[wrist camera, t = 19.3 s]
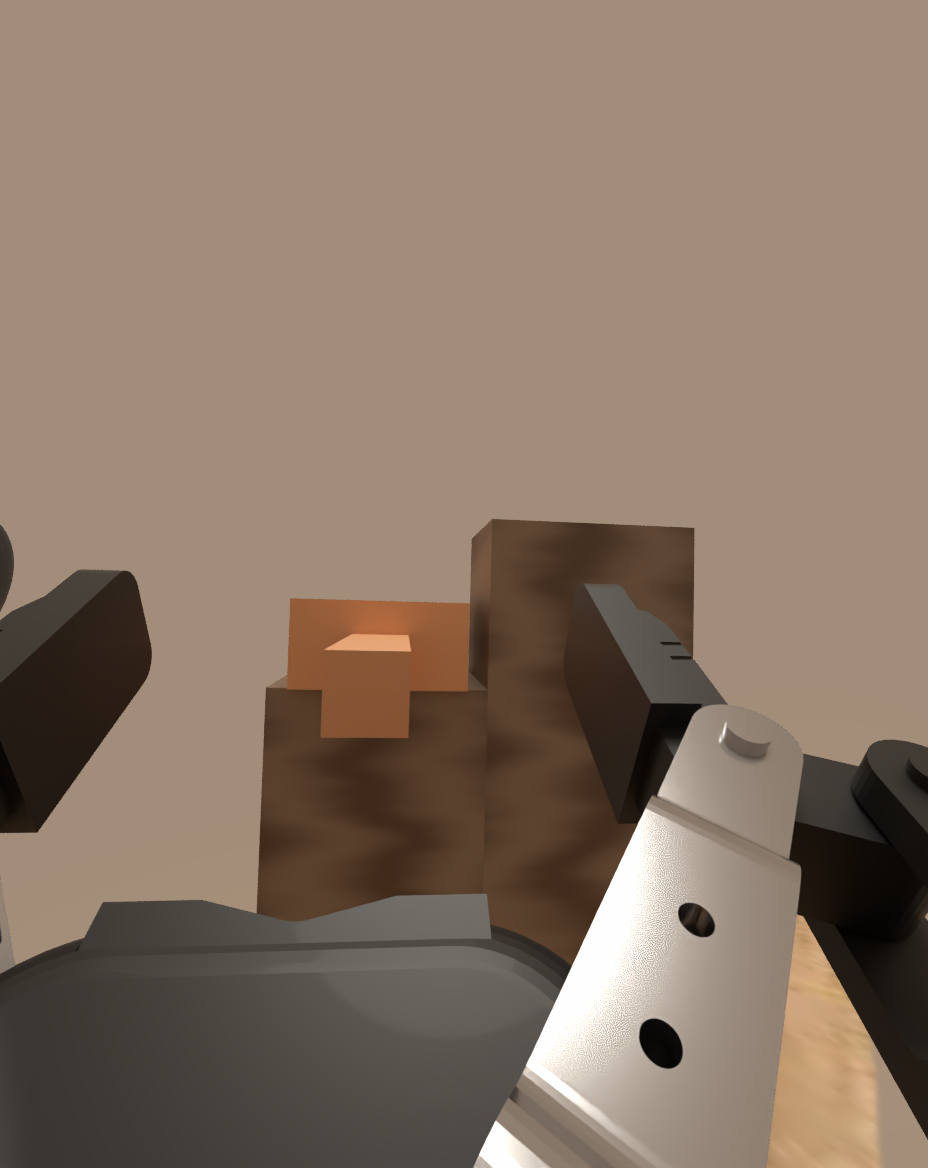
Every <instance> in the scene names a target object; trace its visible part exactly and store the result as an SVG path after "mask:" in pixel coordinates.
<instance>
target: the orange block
mask: <svg viewBox="0 0 928 1168" xmlns="http://www.w3.org/2000/svg"><path fill="white" fill-rule="evenodd" d="M469 617H470V604H466V603H429V602H428V603H427V602H396V601H361V600H324V599H290V622H289V647H288V672H287V689H288V690H322V710H321V737H320V738H408V735H409V703H410V691H465V692H468V655H469Z"/></svg>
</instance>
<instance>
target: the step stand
mask: <svg viewBox="0 0 928 1168" xmlns="http://www.w3.org/2000/svg"><path fill="white" fill-rule="evenodd" d="M471 556H472V557H471V591H470V592H471V593H470V627H469V665H468V692H465V691H410V703H409V735H408V738H320V737H321V710H322V690H288V689H287V675H286V676H285V677H283V678H281V679H280V680H278V681H276V682H275V683H273V684H272V685H270V686H268V687H266V701H265V724H264V749H263V773H262V798H261V822H260V823H261V824H260V845H259V846H260V847H259V870H258V894H257V914H260V915H264V916H268V917H272V918H276V919H280V920H285V921H290V922H300V921H305V920H310V919H313V918H317V917H321V916H324V915H328V914H332V913H335V912H339V911H343V910H346V909H350V908H354V907H357V906H361V905H365V904H368V903H372V902H376V901H379V900H383V899H387V898H390V897H394V896H408V895H453V894H487V901H488V910H489V919H490V925H494V926H498V927H501V928H505V929H508V930H510V931H513V932H515V933H518V934H521V935H523V936H526V937H528V938H530V939H531V940H533V941H535V942H537V943H539V944H541V945H543V946H545V947H546V948H548V949H549V950H551V951H552V952H554V953H555V954H557V955H558V956H560V957H561V958H563V959H564V960H565V961H567V962H568V963H569V964H570V965H571V966H573V964H574V962H575V960H576V957H577V955H578V953H579V951H580V949H581V947H582V944H583V942H584V940H585V938H586V936H587V934H588V931H589V929H590V927H591V925H592V923H593V921H594V918H595V916H596V914H597V912H598V910H599V908H600V905H601V903H602V901H603V899H604V897H605V895H606V893H607V890H608V888H609V886H610V884H611V882H612V880H613V877H614V875H615V873H616V871H617V869H618V867H619V864H620V862H621V860H622V858H623V856H624V854H625V851H626V849H627V847H628V845H629V843H630V841H631V838H632V836H633V834H634V832H635V830H636V828H637V826H638V824H618V823H617V820H616V817H615V815H614V812H613V809H612V807H611V804H610V801H609V799H608V796H607V793H606V791H605V788H604V785H603V783H602V780H601V777H600V775H599V772H598V769H597V766H596V764H595V761H594V758H593V756H592V753H591V750H590V748H589V745H588V742H587V740H586V737H585V734H584V732H583V729H582V726H581V724H580V721H579V718H578V716H577V713H576V710H575V708H574V705H573V702H572V699H571V697H570V694H569V691H568V689H567V686H566V683H565V677H564V652H565V646H566V641H567V635H568V629H569V624H570V618H571V613H572V607H573V601H574V596H575V592H576V589H577V587H578V585H579V584H581V583H582V584H616V585H621V586H622V588H623V589H624V590H625V592H626V593H627V595H628V596H629V598H630V599H631V601H632V602H633V603H634V605H635V606H636V608H637V609H638V610H643V611H648V612H650V613H651V614H653V615H654V616H655V617H657V618H658V619H660V620H661V621H663V622H664V623H666V624H667V625H668V626H669V627H670V628H671V630H672V631H673V632H674V634H675V635H676V636H677V638H678V639H679V640H680V642H681V645H682V646H684V647H685V648H686V650H687V651H688V652H689V654H690V655H691V659H692V660H693V610H694V606H693V605H694V603H693V602H694V528H682V527H659V526H636V525H614V524H592V523H591V524H590V523H568V522H546V521H545V522H544V521H523V520H522V521H520V520H500V519H492V520H491V521H490V522H489V523H488V524H487V525H486V526H485V527H484V528H483V529H482V530H481V531H480V532H479V533H478V534H476V536H474V537H473V538H472V554H471Z"/></svg>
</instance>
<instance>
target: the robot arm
mask: <svg viewBox="0 0 928 1168" xmlns="http://www.w3.org/2000/svg"><path fill="white" fill-rule="evenodd" d="M13 570H14V556H13V550H12V546H11V543H10V540H9V537H8V535H7V533H6V532H5V530H4V528H3V527H2V526H1V525H0V611H1V609H2V607H3V605H4V603H5V601H6V598H7V595H8V592H9V589H10V585H11V582H12V577H13ZM151 658H152V651H151V643H150V639H149V634H148V630H147V625H146V621H145V617H144V613H143V607H142V603H141V598H140V594H139V589H138V585H137V582H136V580H135V578H134V576H133V575H132V574H131V573H130V572H128V571H113V570H111V571H110V570H78V571H76V572H75V573H73V574H72V575H71V576H70V577H68V578H67V579H66V580H65V581H63V582H62V583H61V584H60V585H58V586H57V587H56V588H55V589H53V590H52V591H51V592H50V593H48V594H47V595H46V596H44V597H42V598H40V599H38V600H36V601H33V602H31V603H29V604H27V605H25V606H23V607H20V608H18V609H16V610H14V611H12V612H10V613H9V614H8V615H6V616H5V617H4V618H3V619H1V620H0V833H30V832H31V833H32V832H38V831H39V829H40V828H41V827H42V825H43V824H44V822H45V821H46V820H47V818H48V817H49V815H50V814H51V812H52V811H53V810H54V808H55V807H56V805H57V804H58V803H59V801H60V800H61V798H62V797H63V795H64V794H65V793H66V791H67V790H68V789H69V787H70V786H71V784H72V783H73V782H74V780H75V779H76V777H77V776H78V774H79V773H80V772H81V770H82V769H83V768H84V766H85V765H86V763H87V762H88V761H89V759H90V758H91V756H92V755H93V754H94V752H95V751H96V749H97V748H98V746H99V745H100V744H101V742H102V741H103V739H104V738H105V737H106V735H107V734H108V732H109V731H110V730H111V728H112V727H113V725H114V724H115V723H116V721H117V720H118V718H119V717H120V716H121V714H122V713H123V711H124V710H125V709H126V707H127V706H128V704H129V703H130V702H131V700H132V699H133V697H134V696H135V695H136V693H137V692H138V690H139V689H140V688H141V686H142V685H143V683H144V682H145V680H146V678H147V676H148V674H149V670H150V666H151ZM564 677H565V683H566V686H567V689H568V691H569V694H570V697H571V699H572V702H573V705H574V708H575V710H576V713H577V716H578V718H579V721H580V724H581V726H582V729H583V732H584V734H585V737H586V740H587V742H588V745H589V748H590V750H591V753H592V756H593V758H594V761H595V764H596V766H597V769H598V772H599V775H600V777H601V780H602V783H603V785H604V788H605V791H606V793H607V796H608V799H609V801H610V804H611V807H612V809H613V812H614V815H615V817H616V820H617V823H618V824H638V826H637V828H636V830H635V832H634V834H633V836H632V838H631V841H630V843H629V845H628V847H627V849H626V851H625V854H624V856H623V858H622V860H621V862H620V864H619V867H618V869H617V871H616V873H615V875H614V877H613V880H612V882H611V884H610V886H609V888H608V890H607V893H606V895H605V897H604V899H603V901H602V903H601V905H600V908H599V910H598V912H597V914H596V916H595V918H594V921H593V923H592V925H591V927H590V929H589V931H588V934H587V936H586V938H585V940H584V942H583V944H582V947H581V949H580V951H579V953H578V955H577V957H576V960H575V962H574V964H573V966H571V965H570V964H569V963H568V962H567V961H565V960H564V959H563V958H561V957H560V956H558V955H557V954H555V953H554V952H552V951H551V950H549V949H548V948H546V947H545V946H543V945H541V944H539V943H537V942H535V941H533V940H531V939H530V938H528V937H526V936H523V935H521V934H518V933H515V932H513V931H510V930H508V929H505V928H501V927H498V926H494V925H490V919H489V910H488V901H487V894H453V895H408V896H394V897H390V898H387V899H383V900H379V901H376V902H372V903H368V904H365V905H361V906H357V907H354V908H350V909H346V910H343V911H339V912H335V913H332V914H328V915H324V916H321V917H317V918H313V919H310V920H305V921H300V922H290V921H285V920H280V919H276V918H272V917H268V916H264V915H260V914H256V913H252V912H248V911H244V910H239V909H236V908H232V907H228V906H224V905H220V904H215V903H212V902H208V901H203V900H182V901H142V902H141V901H138V902H103V903H102V905H101V907H100V909H99V911H98V913H97V915H96V917H95V918H94V920H93V922H92V924H91V926H90V928H89V930H88V932H87V934H86V936H85V938H82V939H79V940H75V941H72V942H70V943H67V944H64V945H61V946H59V947H56V948H53V949H51V950H48V951H45V952H43V953H41V954H39V955H37V956H34V957H32V958H30V959H28V960H26V961H24V962H22V963H19V964H17V965H15V961H14V956H13V950H12V944H11V938H10V932H9V926H8V920H7V914H6V908H5V902H4V896H3V890H2V884H1V878H0V1168H766V1166H767V1158H768V1150H769V1141H770V1133H771V1125H772V1116H773V1108H774V1100H775V1091H776V1083H777V1075H778V1067H779V1058H780V1050H781V1042H782V1033H783V1025H784V1017H785V1008H786V1000H787V992H788V983H789V975H790V967H791V958H792V950H793V942H794V934H795V925H796V917H797V914H798V915H801V916H804V918H805V920H806V922H807V924H808V925H809V927H810V929H811V931H812V933H813V934H814V936H815V938H816V940H817V942H818V943H819V945H820V947H821V949H822V951H823V952H824V954H825V956H826V958H827V960H828V961H829V963H830V965H831V967H832V969H833V970H834V972H835V974H836V976H837V978H838V979H839V981H840V983H841V985H842V986H843V988H844V990H845V992H846V994H847V995H848V997H849V999H850V1001H851V1003H852V1004H853V1006H854V1008H855V1010H856V1012H857V1013H858V1015H859V1017H860V1019H861V1021H862V1022H863V1024H864V1026H865V1028H866V1030H867V1031H868V1033H869V1035H870V1037H871V1039H872V1040H873V1042H874V1044H875V1046H876V1048H877V1049H878V1051H879V1053H880V1055H881V1057H882V1058H883V1060H884V1062H885V1064H886V1066H887V1067H888V1069H889V1071H890V1072H891V1074H892V1076H893V1078H894V1080H895V1082H896V1083H897V1085H898V1087H899V1089H900V1090H901V1092H902V1094H903V1096H904V1098H905V1099H906V1101H907V1103H908V1105H909V1107H910V1109H911V1110H912V1112H913V1114H914V1116H915V1118H916V1119H917V1121H918V1123H919V1124H920V1126H921V1128H922V1130H923V1132H924V1134H925V1136H926V1137H927V1139H928V921H927V919H926V918H925V916H926V914H927V913H928V748H927V747H924V746H922V745H918V744H915V743H910V742H906V741H900V740H882V741H877V742H875V743H873V744H872V745H871V746H870V747H869V748H868V750H867V752H866V754H865V756H864V758H863V760H862V762H861V764H860V765H859V767H858V766H855V765H850V764H846V763H841V762H837V761H832V760H828V759H824V758H820V757H815V756H811V755H806V754H803V753H802V749H801V748H800V746H799V744H798V742H797V741H796V740H795V739H794V737H793V736H792V735H790V733H789V732H788V731H787V730H785V729H784V728H783V727H782V726H780V725H779V724H777V723H776V722H774V721H773V720H771V719H769V718H767V717H765V716H764V715H761V714H759V713H757V712H754V711H752V710H748V709H746V708H742V707H738V706H732V705H728V704H727V703H726V702H725V700H724V699H723V698H722V696H721V695H720V694H719V692H718V691H717V690H716V688H715V687H714V686H713V684H712V683H711V682H710V680H709V679H708V678H707V676H706V675H705V674H704V672H703V671H702V670H701V668H700V667H699V666H698V664H697V663H696V662H695V660H692V659H691V655H690V654H689V652H688V651H687V650H686V648H685V647H684V646H682V645H681V642H680V640H679V639H678V638H677V636H676V635H675V634H674V632H673V631H672V630H671V628H670V627H669V626H668V625H667V624H666V623H664V622H663V621H661V620H660V619H658V618H657V617H655V616H654V615H653V614H651V613H650V612H648V611H643V610H638V609H637V608H636V606H635V605H634V603H633V602H632V601H631V599H630V598H629V596H628V595H627V593H626V592H625V590H624V589H623V588H622V586H621V585H616V584H582V583H581V584H579V585H578V587H577V589H576V592H575V596H574V601H573V607H572V613H571V618H570V624H569V629H568V635H567V641H566V646H565V652H564Z"/></svg>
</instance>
